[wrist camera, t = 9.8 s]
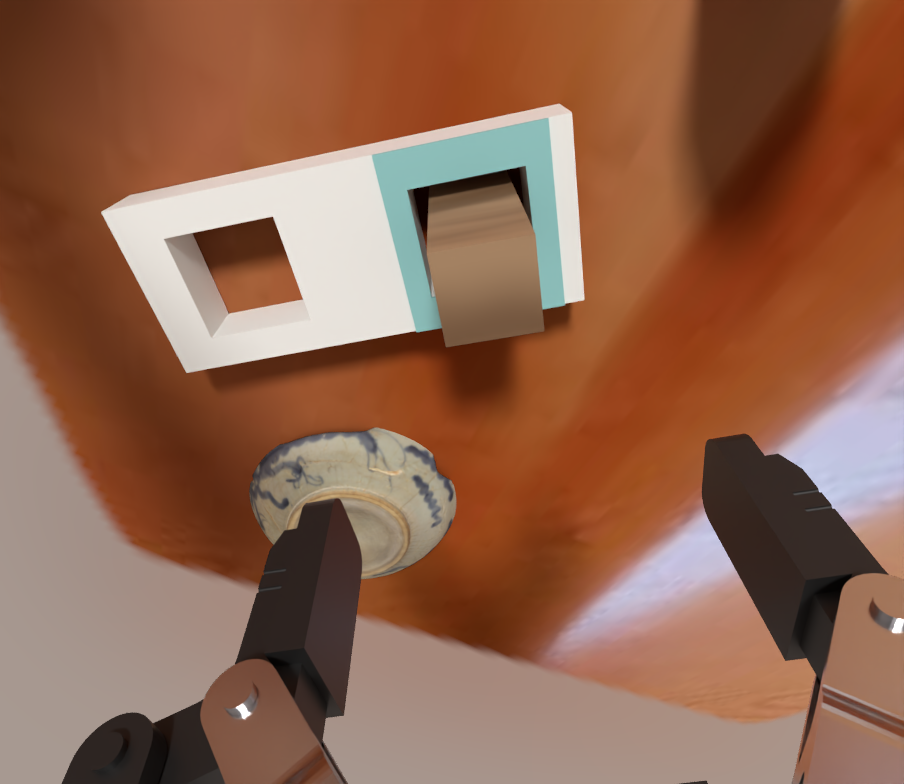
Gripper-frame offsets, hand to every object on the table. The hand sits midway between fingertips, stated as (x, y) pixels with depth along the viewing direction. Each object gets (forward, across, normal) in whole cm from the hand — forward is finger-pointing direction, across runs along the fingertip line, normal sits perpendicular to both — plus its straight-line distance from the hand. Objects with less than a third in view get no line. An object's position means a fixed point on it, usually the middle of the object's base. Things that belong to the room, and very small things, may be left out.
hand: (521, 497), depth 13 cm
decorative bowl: (+22, +12, +19) cm, 31 cm away
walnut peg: (+21, 0, 0) cm, 21 cm away
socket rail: (+21, +6, 0) cm, 22 cm away
